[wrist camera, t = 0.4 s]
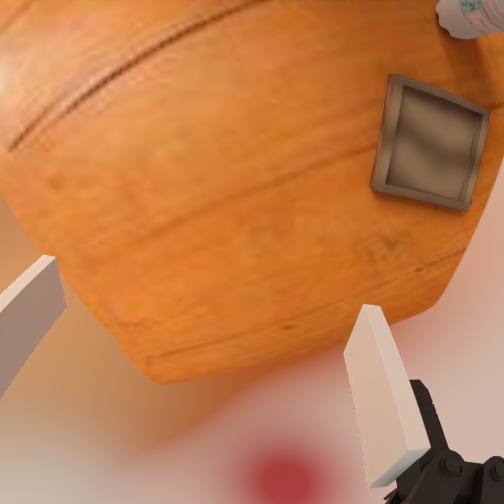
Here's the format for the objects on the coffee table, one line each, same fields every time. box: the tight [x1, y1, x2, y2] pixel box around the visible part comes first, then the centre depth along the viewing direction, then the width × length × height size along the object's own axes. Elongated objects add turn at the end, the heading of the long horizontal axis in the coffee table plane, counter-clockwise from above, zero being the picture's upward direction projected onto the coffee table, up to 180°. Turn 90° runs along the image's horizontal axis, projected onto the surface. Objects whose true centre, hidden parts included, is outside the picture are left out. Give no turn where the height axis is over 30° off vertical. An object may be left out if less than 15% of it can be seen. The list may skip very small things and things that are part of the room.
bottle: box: [435, 0, 504, 39], centre depth 16 cm, size 7×7×20 cm
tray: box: [370, 74, 490, 212], centre depth 32 cm, size 14×14×2 cm
